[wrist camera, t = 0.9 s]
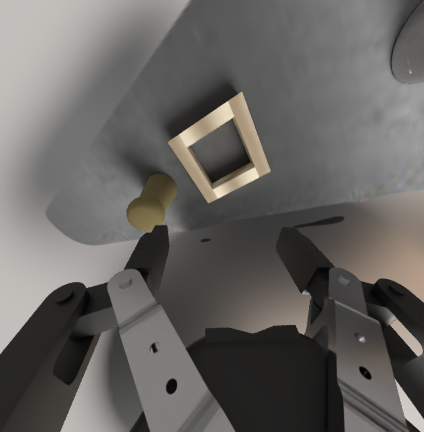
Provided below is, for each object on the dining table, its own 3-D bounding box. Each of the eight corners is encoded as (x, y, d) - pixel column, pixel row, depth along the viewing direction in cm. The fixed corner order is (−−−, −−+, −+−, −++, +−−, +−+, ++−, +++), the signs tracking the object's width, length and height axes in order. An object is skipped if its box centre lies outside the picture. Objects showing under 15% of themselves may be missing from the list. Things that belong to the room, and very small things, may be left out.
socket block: (238, 94, 23) (241, 91, 20) (265, 166, 29) (270, 171, 26) (171, 139, 26) (167, 142, 23) (208, 196, 32) (208, 203, 29)
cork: (139, 183, 30) (108, 214, 21) (164, 167, 28) (143, 193, 19) (160, 206, 33) (141, 243, 24) (183, 193, 31) (173, 227, 22)
